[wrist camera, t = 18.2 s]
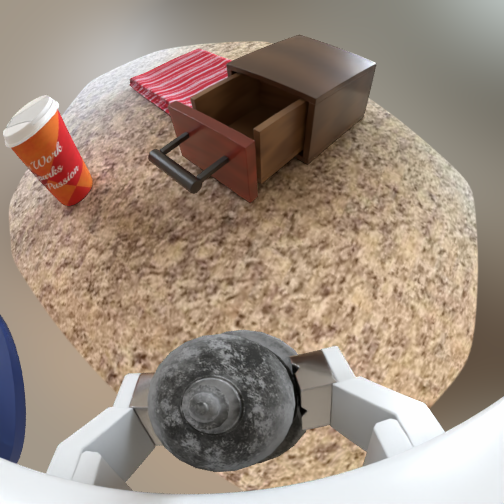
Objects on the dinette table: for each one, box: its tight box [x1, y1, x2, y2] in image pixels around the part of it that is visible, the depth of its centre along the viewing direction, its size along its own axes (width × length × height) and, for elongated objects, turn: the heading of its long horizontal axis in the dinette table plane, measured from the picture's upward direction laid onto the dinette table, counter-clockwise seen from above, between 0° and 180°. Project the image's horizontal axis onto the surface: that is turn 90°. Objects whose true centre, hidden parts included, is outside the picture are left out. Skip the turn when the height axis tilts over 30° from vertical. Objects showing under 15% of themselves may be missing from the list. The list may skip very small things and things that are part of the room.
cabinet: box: [226, 35, 376, 164], centre depth 34 cm, size 15×13×10 cm
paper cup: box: [3, 95, 93, 206], centre depth 28 cm, size 8×8×14 cm
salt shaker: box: [147, 330, 306, 472], centre depth 9 cm, size 6×6×12 cm
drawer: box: [148, 73, 309, 203], centre depth 30 cm, size 18×11×8 cm, turn 137°
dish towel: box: [130, 49, 231, 115], centre depth 42 cm, size 17×24×3 cm
